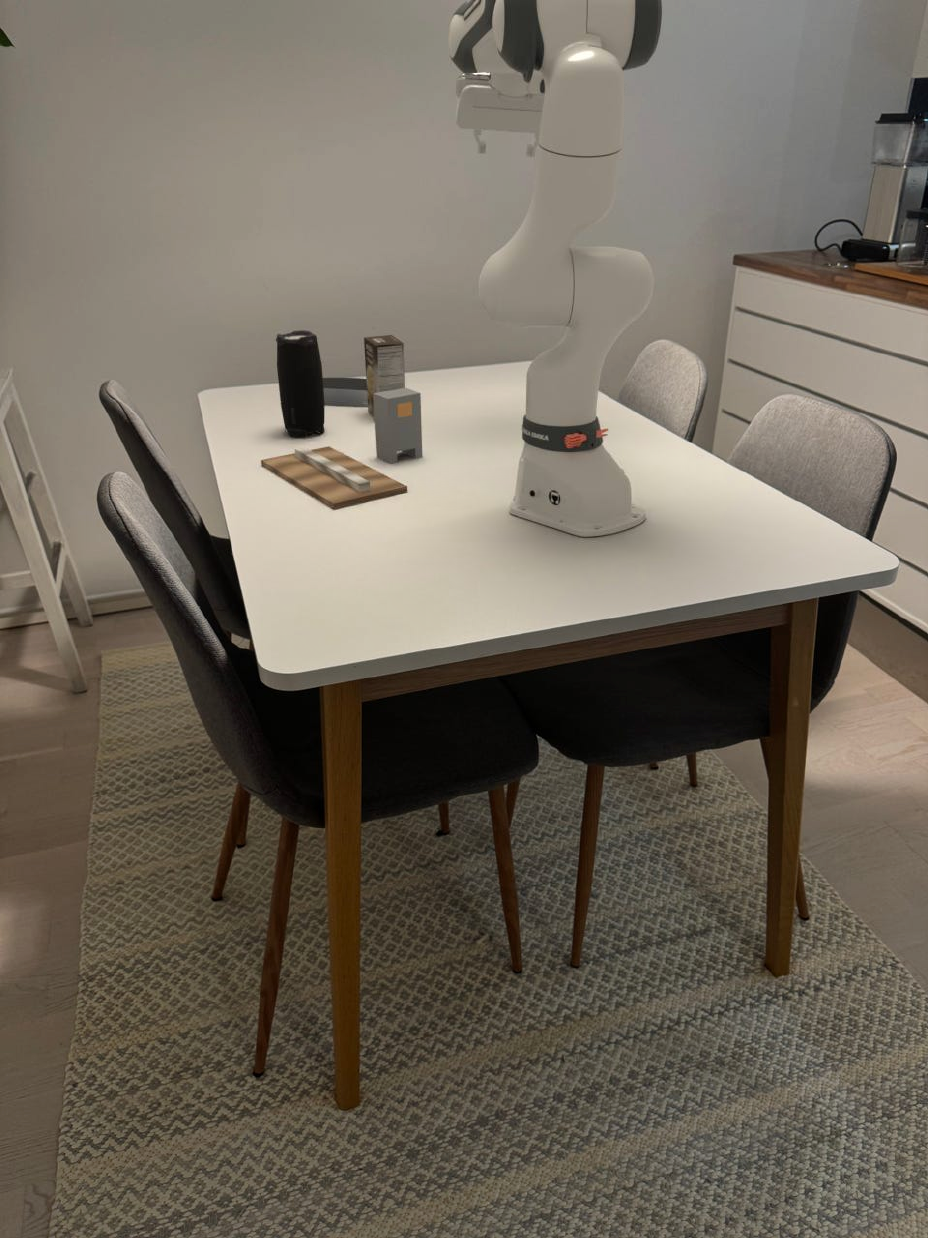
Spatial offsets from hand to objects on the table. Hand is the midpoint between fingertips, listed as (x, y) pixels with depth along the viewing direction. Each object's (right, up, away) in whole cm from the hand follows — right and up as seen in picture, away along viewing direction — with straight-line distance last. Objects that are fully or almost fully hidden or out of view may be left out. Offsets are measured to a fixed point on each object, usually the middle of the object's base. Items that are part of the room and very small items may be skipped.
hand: (505, 153), depth 176 cm
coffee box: (-25, -45, +22) cm, 56 cm away
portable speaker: (-40, -51, +11) cm, 66 cm away
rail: (-31, -64, -14) cm, 73 cm away
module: (-20, -59, -3) cm, 62 cm away
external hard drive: (-35, -39, +35) cm, 63 cm away
